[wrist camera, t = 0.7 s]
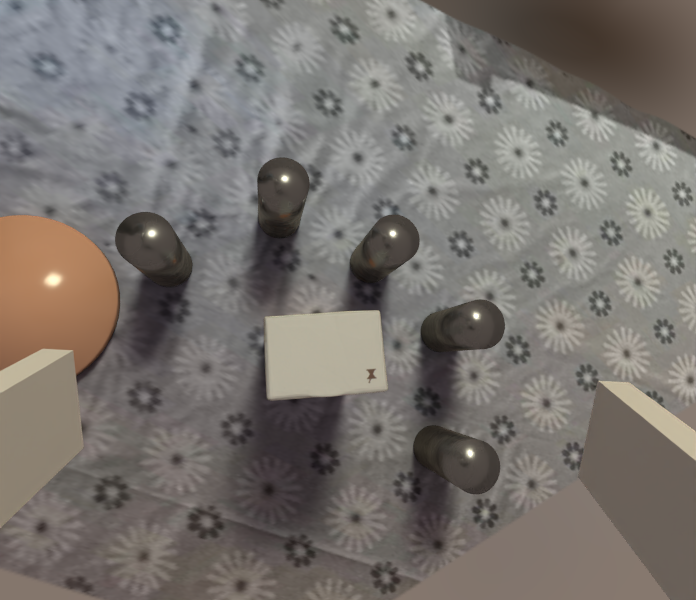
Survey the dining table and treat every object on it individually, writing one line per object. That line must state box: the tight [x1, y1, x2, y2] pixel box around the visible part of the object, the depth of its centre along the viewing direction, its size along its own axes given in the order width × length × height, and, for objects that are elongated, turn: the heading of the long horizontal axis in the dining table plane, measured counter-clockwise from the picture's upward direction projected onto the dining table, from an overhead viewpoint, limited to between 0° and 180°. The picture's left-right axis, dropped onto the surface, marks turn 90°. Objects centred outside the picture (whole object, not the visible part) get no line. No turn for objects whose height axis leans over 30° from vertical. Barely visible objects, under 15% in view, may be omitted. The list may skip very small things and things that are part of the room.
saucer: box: [0, 215, 120, 376], centre depth 30 cm, size 12×12×1 cm
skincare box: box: [264, 310, 388, 401], centre depth 28 cm, size 6×4×12 cm
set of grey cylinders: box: [115, 158, 505, 494], centre depth 30 cm, size 21×24×7 cm
